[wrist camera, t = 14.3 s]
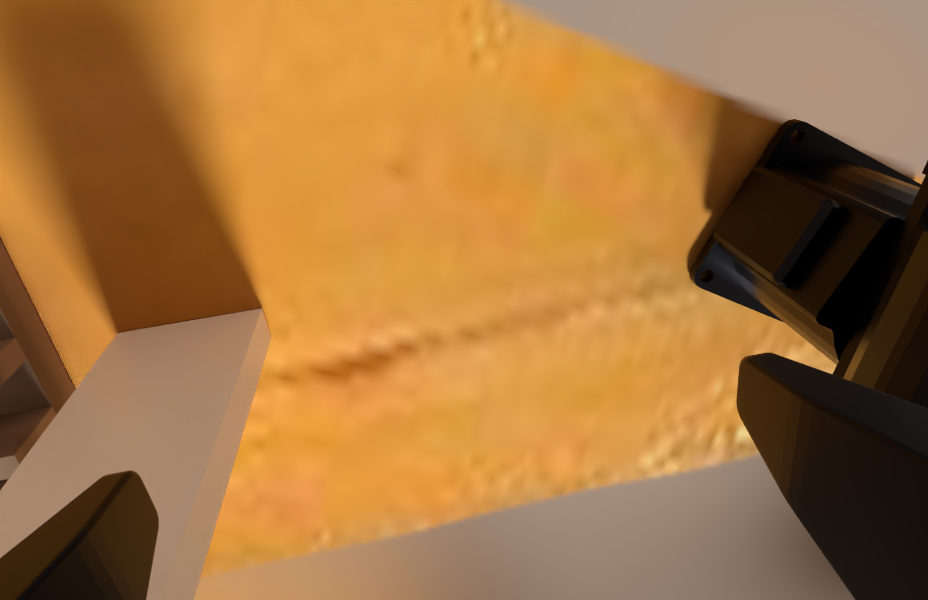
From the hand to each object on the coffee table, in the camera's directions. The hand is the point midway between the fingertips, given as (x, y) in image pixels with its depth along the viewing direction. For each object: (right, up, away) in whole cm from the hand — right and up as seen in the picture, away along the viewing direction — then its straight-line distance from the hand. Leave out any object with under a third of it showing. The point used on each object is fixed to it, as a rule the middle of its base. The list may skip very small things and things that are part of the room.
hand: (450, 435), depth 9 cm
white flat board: (-9, +1, +13) cm, 16 cm away
